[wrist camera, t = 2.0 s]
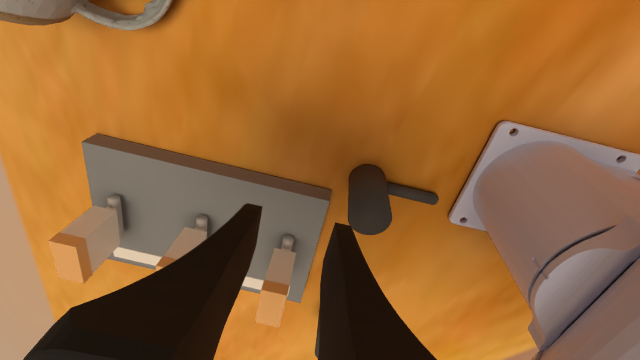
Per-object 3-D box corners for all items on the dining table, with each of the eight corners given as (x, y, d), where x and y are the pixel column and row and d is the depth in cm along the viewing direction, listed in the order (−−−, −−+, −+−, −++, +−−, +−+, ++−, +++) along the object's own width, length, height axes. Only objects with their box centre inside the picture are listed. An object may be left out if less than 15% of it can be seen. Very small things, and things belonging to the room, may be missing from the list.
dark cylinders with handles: (453, 184, 23) (474, 223, 19) (379, 327, 31) (383, 375, 27) (354, 160, 22) (354, 194, 18) (307, 311, 31) (300, 356, 27)
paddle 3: (128, 197, 24) (75, 244, 19) (131, 234, 25) (84, 285, 21) (106, 192, 24) (47, 238, 19) (111, 229, 25) (59, 279, 21)
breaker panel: (330, 190, 24) (329, 202, 22) (302, 289, 29) (299, 303, 28) (96, 133, 23) (80, 142, 22) (112, 245, 29) (100, 258, 27)
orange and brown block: (214, 217, 24) (182, 269, 19) (212, 253, 26) (182, 307, 21) (193, 212, 24) (155, 263, 19) (192, 248, 26) (157, 302, 21)
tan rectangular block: (300, 238, 24) (287, 293, 20) (291, 271, 26) (278, 329, 21) (278, 233, 24) (261, 287, 20) (271, 266, 26) (254, 324, 21)
